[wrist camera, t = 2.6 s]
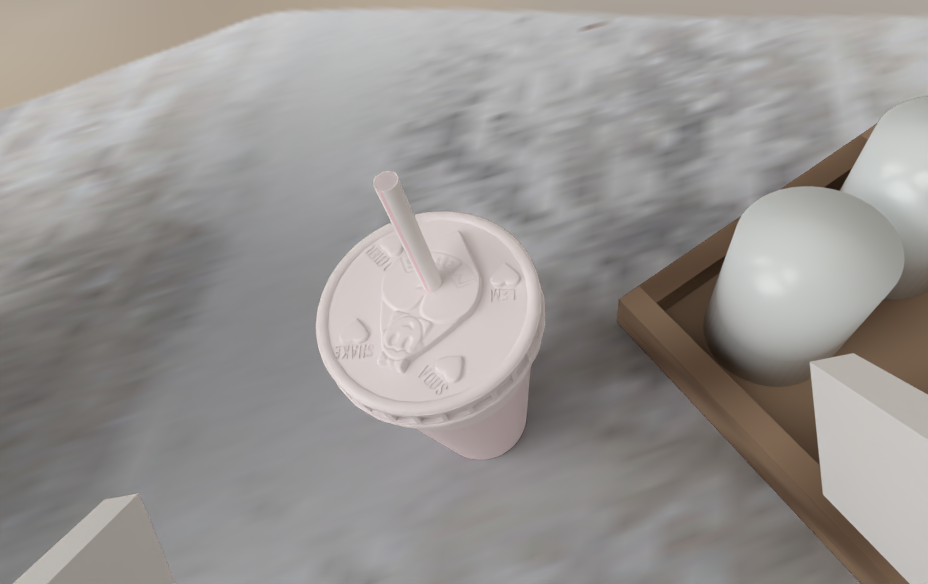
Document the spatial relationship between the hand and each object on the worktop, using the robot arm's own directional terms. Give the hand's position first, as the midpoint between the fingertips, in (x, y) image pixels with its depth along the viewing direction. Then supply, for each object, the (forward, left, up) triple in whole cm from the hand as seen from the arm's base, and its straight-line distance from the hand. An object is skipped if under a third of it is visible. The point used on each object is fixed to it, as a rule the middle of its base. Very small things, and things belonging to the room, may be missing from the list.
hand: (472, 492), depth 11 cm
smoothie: (-5, +2, -12) cm, 13 cm away
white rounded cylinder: (-1, +13, -11) cm, 17 cm away
